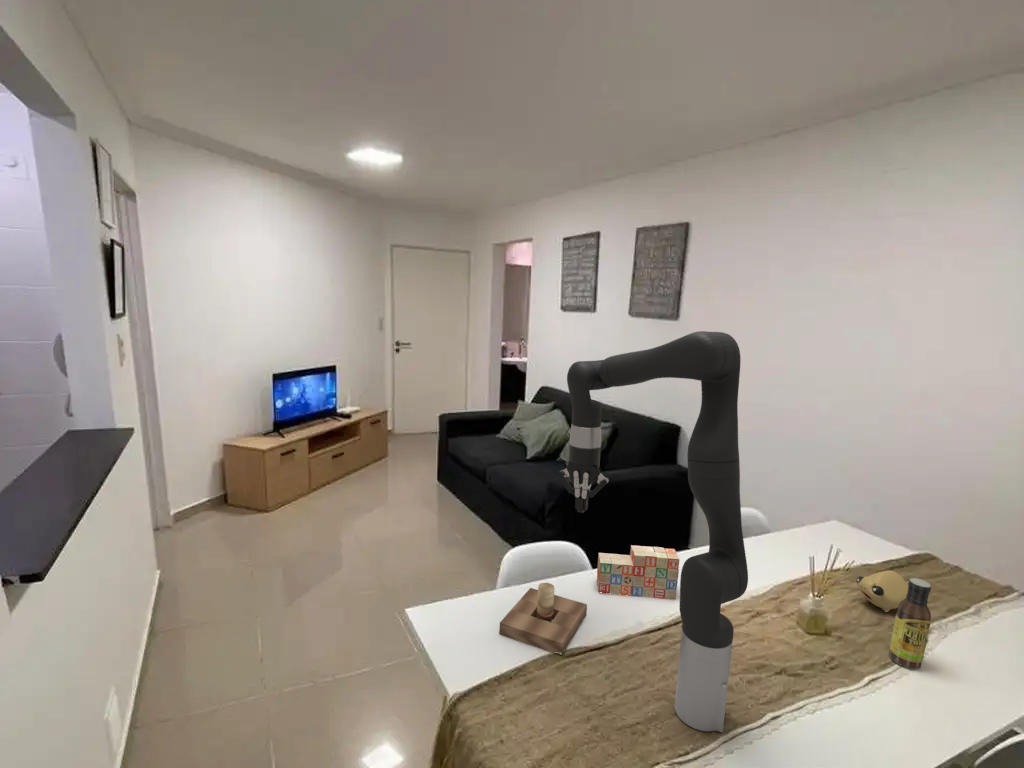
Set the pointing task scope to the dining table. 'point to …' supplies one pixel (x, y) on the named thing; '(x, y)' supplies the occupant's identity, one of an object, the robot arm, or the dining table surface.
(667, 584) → the stack of blocks
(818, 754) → the dining table surface
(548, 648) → the board
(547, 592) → the peg
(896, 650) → the sauce bottle
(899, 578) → the tan toy head
